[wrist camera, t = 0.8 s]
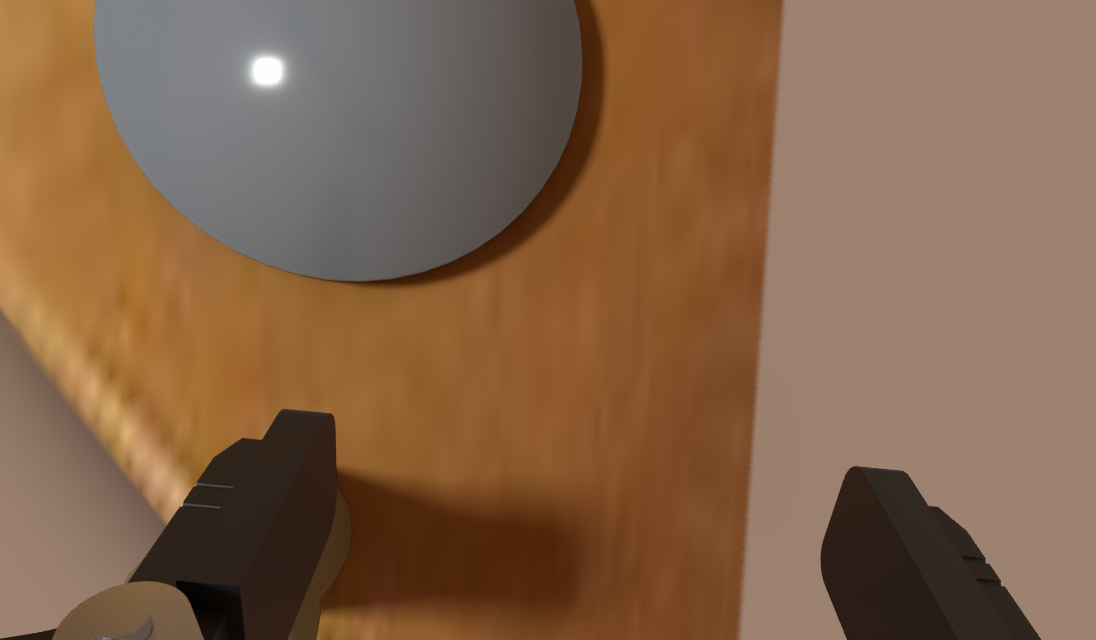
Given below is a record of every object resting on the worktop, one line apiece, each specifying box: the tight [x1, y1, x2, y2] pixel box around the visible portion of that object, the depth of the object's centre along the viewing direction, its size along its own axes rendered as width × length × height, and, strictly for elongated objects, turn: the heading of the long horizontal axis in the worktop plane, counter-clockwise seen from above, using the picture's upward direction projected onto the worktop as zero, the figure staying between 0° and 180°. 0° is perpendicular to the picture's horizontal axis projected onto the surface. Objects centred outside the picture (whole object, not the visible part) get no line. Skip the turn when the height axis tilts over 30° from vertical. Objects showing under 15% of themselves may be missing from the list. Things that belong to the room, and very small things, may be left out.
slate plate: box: [94, 0, 583, 282], centre depth 30 cm, size 18×18×1 cm
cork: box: [124, 486, 352, 640], centre depth 24 cm, size 6×6×11 cm
